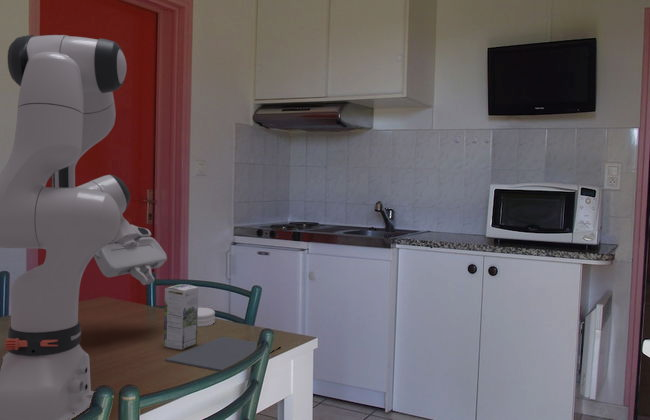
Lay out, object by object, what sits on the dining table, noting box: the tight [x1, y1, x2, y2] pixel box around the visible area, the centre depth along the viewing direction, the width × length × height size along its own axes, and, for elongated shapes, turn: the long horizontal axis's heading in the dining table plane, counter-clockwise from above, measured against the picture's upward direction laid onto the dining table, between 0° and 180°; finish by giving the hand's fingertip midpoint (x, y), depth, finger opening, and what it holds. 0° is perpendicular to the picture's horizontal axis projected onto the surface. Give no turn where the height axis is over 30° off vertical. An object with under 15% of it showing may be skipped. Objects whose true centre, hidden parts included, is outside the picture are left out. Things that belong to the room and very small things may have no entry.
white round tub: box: [197, 307, 216, 328], centre depth 177 cm, size 10×10×4 cm
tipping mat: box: [164, 336, 258, 372], centre depth 149 cm, size 17×22×1 cm
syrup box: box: [163, 283, 199, 351], centre depth 154 cm, size 6×6×14 cm
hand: (149, 282), depth 158 cm, fingers closed
